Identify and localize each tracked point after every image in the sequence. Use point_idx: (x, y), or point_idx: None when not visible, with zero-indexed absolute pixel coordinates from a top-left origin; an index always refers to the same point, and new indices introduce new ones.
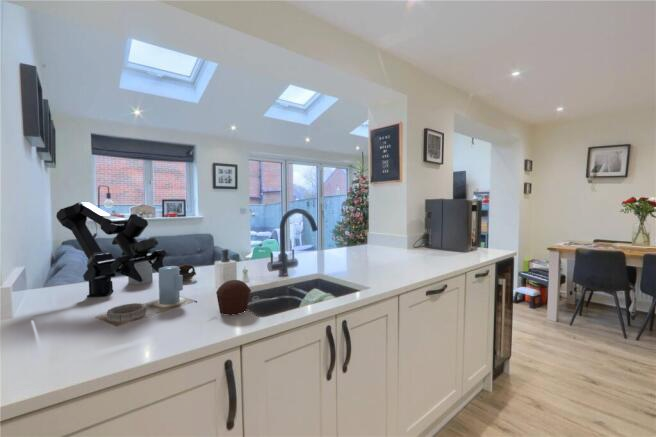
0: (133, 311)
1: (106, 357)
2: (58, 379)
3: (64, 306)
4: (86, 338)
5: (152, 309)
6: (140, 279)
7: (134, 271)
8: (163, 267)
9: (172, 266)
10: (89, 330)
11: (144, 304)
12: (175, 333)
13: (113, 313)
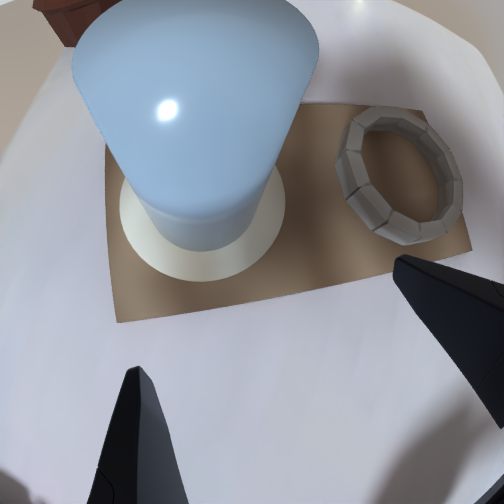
0: (393, 116)
1: (415, 34)
2: (454, 42)
3: (473, 479)
4: (463, 129)
5: (307, 160)
6: (413, 260)
7: (501, 284)
8: (231, 86)
9: (111, 70)
10: (467, 174)
11: (315, 268)
12: (297, 5)
13: (446, 155)
